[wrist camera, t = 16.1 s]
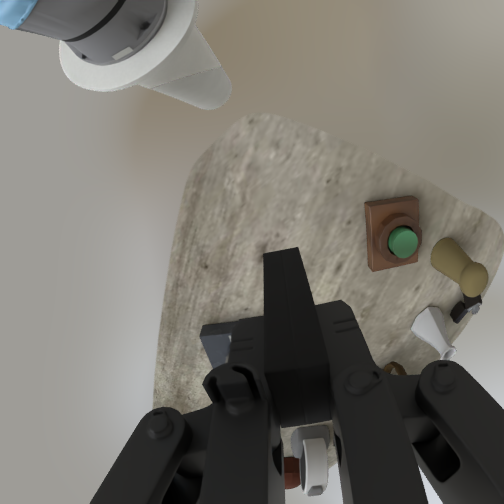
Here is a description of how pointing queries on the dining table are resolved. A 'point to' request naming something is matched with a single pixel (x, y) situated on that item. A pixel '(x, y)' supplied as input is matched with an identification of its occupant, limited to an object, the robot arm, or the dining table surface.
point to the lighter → (466, 307)
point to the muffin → (291, 472)
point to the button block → (390, 230)
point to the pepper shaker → (459, 267)
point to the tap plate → (217, 341)
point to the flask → (434, 331)
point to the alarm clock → (312, 457)
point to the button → (402, 242)
